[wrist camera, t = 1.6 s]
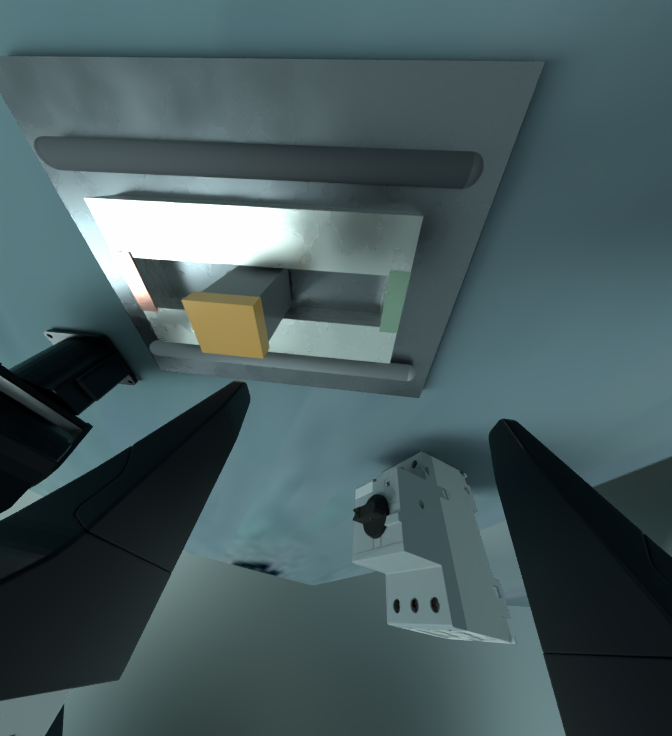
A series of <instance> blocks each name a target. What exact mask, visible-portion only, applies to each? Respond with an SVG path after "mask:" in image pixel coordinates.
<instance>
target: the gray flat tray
mask: <svg viewBox="0 0 672 736" xmlns="http://www.w3.org/2000/svg"><path fill="white" fill-rule="evenodd" d="M34 149H35V151H36V153H37V155H38V156H39V157H40V159H41V160H42V161H43V162H45V163H46V164H47V165H49V166H50V167H52V168H55V169H58V170H64V171H86V172H107V173H129V174H150V175H172V176H193V177H215V178H236V179H258V180H279V181H301V182H322V183H344V184H365V185H387V186H408V187H430V188H451V189H465V188H469V187H471V186H472V185H473V184H475V183H476V182H477V181H478V179H479V178H480V176H481V174H482V171H483V167H484V162H483V158H482V156H481V155H480V154H479V153H477V152H473V151H447V150H419V149H391V148H363V147H335V146H307V145H279V144H251V143H223V142H195V141H167V140H139V139H111V138H83V137H55V136H40V137H37V138H36V139H35V141H34ZM150 351H151V352H152V353H153V354H154V355H157V356H166V357H175V358H185V359H195V360H205V361H214V362H224V363H234V364H244V365H254V366H263V367H273V368H283V369H293V370H302V371H312V372H322V373H332V374H341V375H351V376H361V377H371V378H380V379H390V380H400V381H410V380H412V379H413V378H414V377H415V374H416V372H415V369H414V367H413V366H411V365H408V364H398V363H390V364H389V363H379V362H369V361H359V360H348V359H338V358H328V357H318V356H308V355H297V354H287V353H277V352H267V354H266V355H265V357H264V359H262V358H252V357H242V356H232V355H222V354H212V353H203V352H202V350H201V347H200V345H195V344H185V343H175V342H164V341H159V340H156V341H154V342H152V343H151V344H150Z"/></svg>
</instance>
